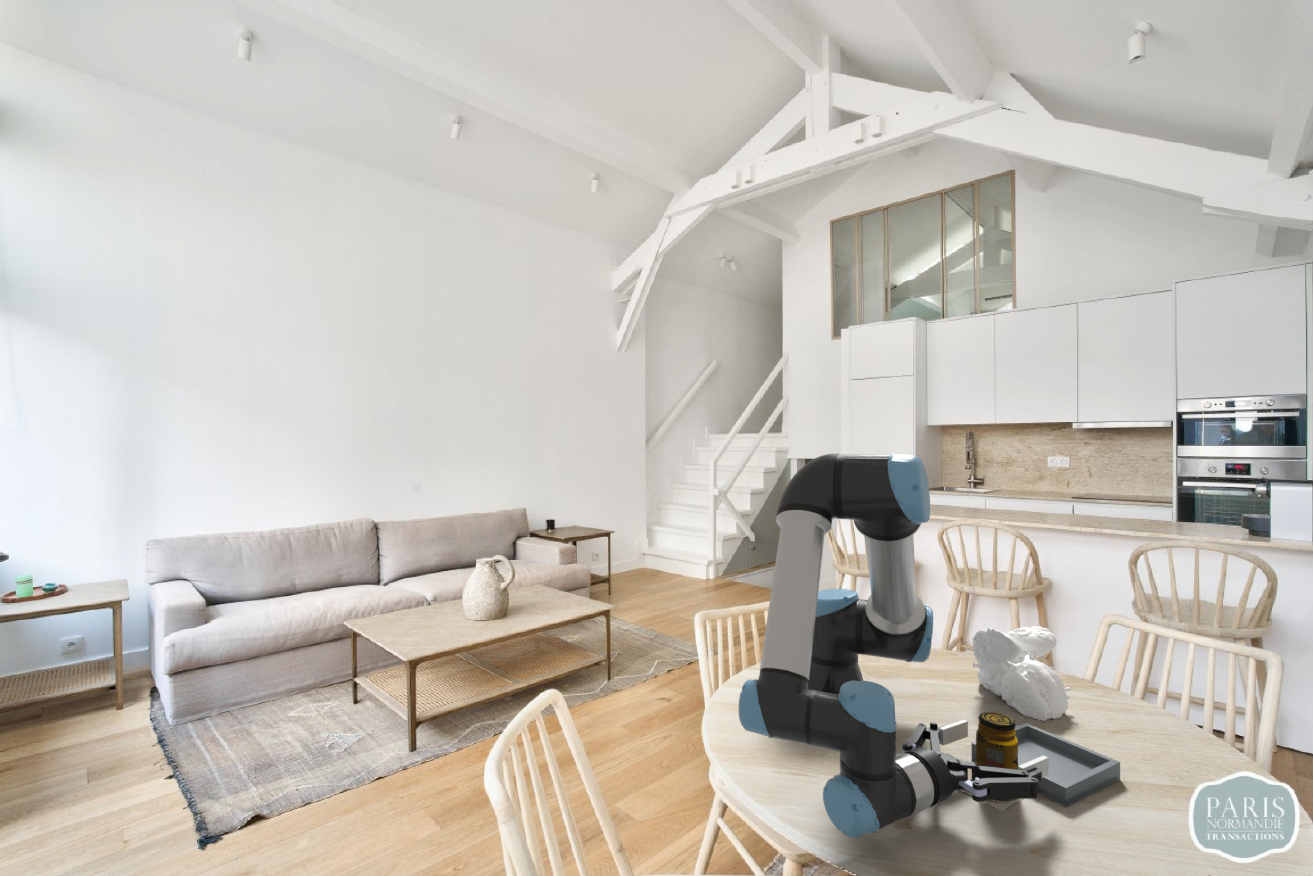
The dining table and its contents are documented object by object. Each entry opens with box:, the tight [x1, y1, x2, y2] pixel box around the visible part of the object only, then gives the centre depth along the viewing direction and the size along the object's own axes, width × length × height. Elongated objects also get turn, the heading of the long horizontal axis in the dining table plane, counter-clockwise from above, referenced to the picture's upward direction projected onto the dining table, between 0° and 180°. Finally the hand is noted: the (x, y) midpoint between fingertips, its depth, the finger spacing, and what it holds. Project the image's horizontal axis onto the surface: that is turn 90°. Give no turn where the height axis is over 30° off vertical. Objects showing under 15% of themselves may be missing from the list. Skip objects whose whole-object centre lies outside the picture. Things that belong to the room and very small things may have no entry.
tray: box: [971, 722, 1121, 808], centre depth 106 cm, size 16×16×3 cm
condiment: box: [961, 711, 1022, 812], centre depth 99 cm, size 7×8×12 cm
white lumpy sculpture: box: [972, 625, 1072, 722], centre depth 133 cm, size 19×20×20 cm
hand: (1003, 745), depth 101 cm, fingers open, 13 cm apart
